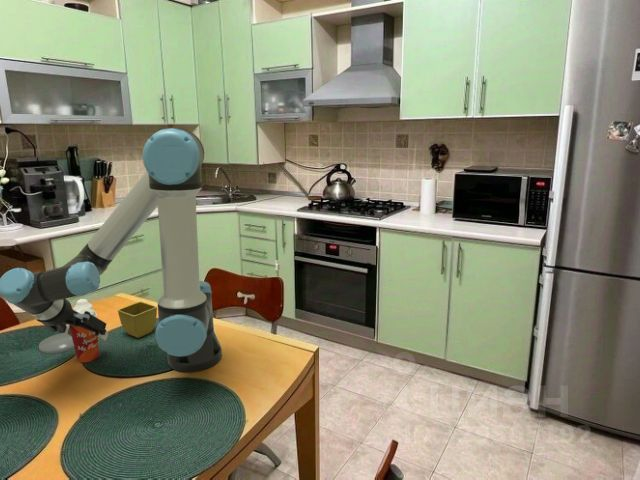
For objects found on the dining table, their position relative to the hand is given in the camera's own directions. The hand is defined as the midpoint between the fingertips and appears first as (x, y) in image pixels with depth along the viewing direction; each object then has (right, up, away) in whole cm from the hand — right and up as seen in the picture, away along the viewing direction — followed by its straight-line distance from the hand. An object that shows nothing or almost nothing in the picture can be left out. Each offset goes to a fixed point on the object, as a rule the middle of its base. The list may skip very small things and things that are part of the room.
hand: (92, 336), depth 132 cm
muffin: (-16, +1, +26) cm, 31 cm away
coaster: (-13, -4, +6) cm, 15 cm away
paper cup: (0, -6, -2) cm, 6 cm away
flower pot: (+9, -2, +13) cm, 16 cm away
